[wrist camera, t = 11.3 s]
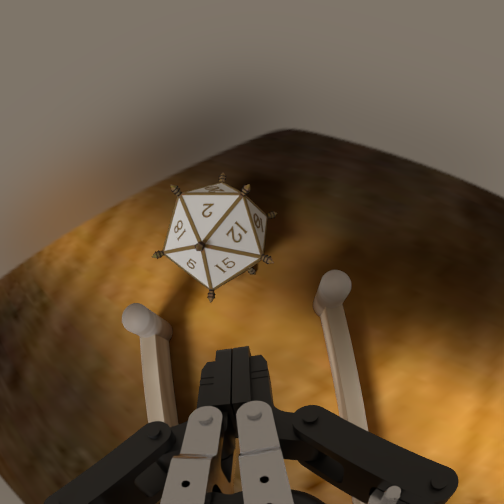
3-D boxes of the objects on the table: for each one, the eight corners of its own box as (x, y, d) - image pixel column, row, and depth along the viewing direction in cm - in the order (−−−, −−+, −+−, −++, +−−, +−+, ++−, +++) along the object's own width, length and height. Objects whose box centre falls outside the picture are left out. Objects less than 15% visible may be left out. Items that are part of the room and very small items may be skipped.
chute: (334, 290, 24) (346, 267, 20) (372, 497, 17) (392, 518, 12) (149, 321, 24) (121, 305, 20) (178, 522, 17) (157, 546, 12)
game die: (211, 268, 30) (137, 195, 25) (285, 218, 28) (217, 130, 23) (218, 341, 23) (114, 258, 17) (317, 282, 21) (227, 167, 15)
